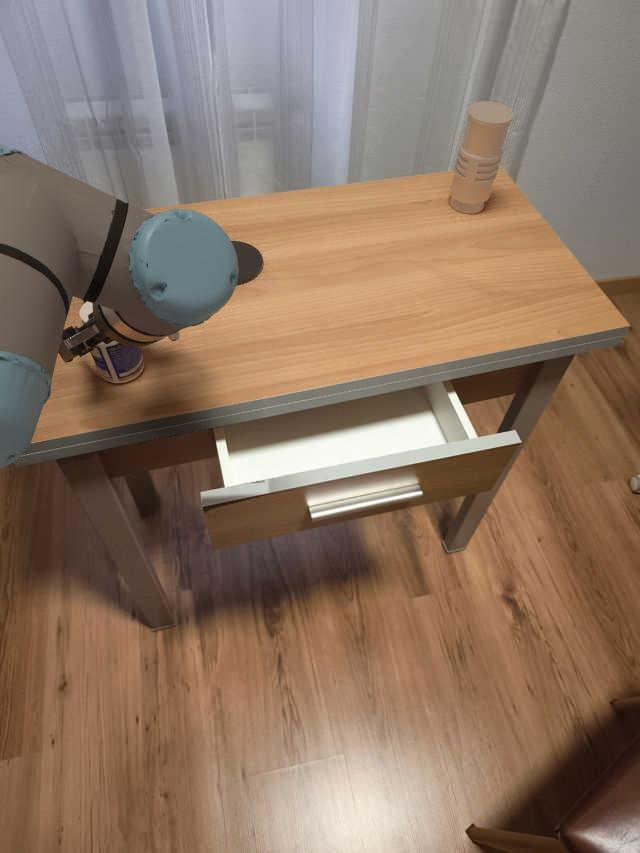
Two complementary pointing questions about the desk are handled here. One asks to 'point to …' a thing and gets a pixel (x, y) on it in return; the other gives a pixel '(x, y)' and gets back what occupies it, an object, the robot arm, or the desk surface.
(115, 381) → the pill bottle
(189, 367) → the desk surface
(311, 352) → the desk surface
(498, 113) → the beige slotted cylinder
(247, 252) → the slate coaster
